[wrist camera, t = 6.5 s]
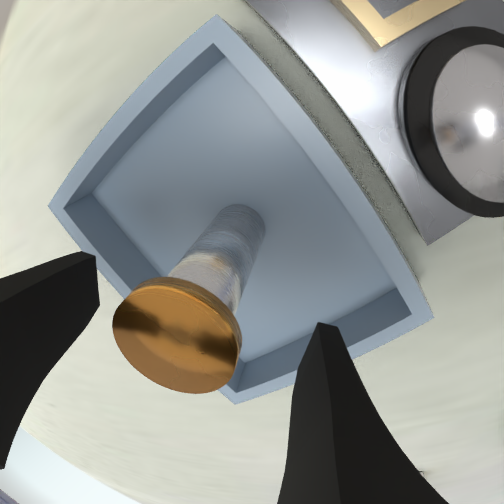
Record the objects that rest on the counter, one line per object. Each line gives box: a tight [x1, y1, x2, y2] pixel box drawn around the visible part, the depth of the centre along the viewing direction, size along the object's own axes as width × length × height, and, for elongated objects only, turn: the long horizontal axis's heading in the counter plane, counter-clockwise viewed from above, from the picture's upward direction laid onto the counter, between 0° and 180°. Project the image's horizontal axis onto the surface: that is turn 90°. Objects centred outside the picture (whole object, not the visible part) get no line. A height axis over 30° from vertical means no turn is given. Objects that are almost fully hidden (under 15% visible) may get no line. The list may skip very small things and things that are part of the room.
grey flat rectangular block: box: [244, 0, 504, 246], centre depth 9 cm, size 14×10×3 cm
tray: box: [48, 14, 434, 404], centre depth 14 cm, size 15×12×3 cm
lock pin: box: [112, 204, 265, 394], centre depth 11 cm, size 3×3×8 cm
